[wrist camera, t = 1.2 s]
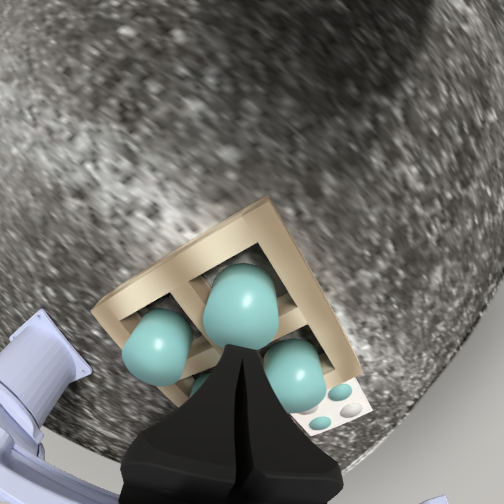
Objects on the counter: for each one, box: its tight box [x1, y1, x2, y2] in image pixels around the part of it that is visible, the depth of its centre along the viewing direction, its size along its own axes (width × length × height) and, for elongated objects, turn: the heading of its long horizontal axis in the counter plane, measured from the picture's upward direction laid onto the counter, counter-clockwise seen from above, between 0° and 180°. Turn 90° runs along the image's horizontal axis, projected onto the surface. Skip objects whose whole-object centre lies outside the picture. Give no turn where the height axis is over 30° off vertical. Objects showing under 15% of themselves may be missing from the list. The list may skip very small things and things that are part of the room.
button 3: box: [264, 339, 327, 413], centre depth 19 cm, size 4×4×4 cm
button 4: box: [203, 263, 279, 350], centre depth 17 cm, size 4×4×4 cm
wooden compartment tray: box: [91, 195, 363, 408], centre depth 21 cm, size 15×15×2 cm
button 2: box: [122, 308, 193, 386], centre depth 18 cm, size 4×4×4 cm
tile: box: [290, 377, 373, 436], centre depth 25 cm, size 7×7×1 cm
